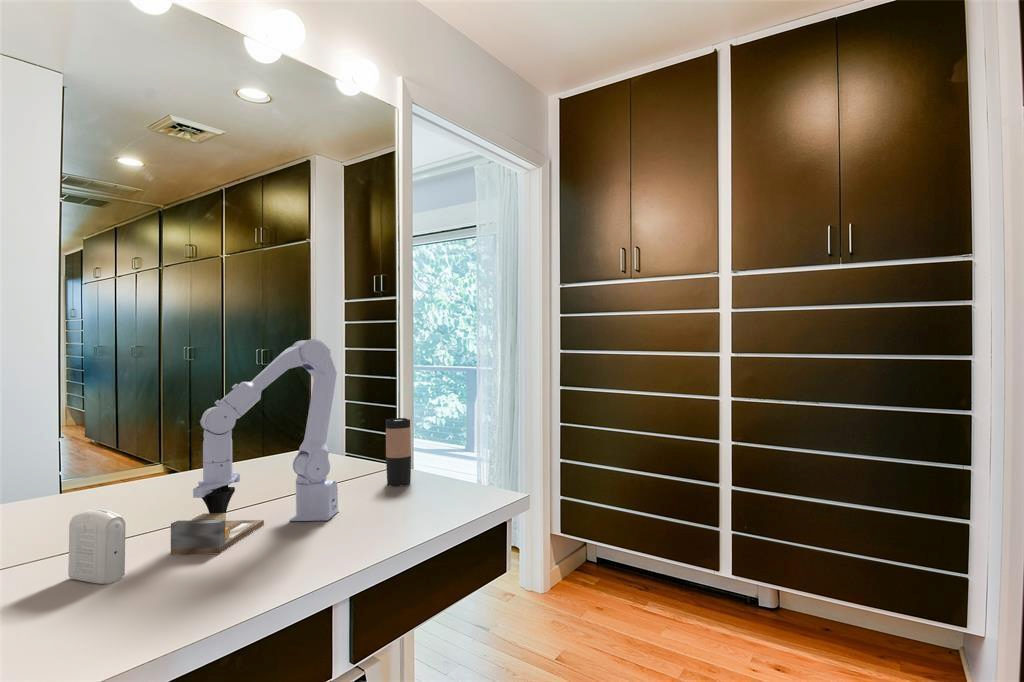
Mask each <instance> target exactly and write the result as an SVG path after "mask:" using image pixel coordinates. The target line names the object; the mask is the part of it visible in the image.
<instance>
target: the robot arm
mask: <svg viewBox="0 0 1024 682" xmlns="http://www.w3.org/2000/svg"><path fill="white" fill-rule="evenodd" d="M331 354H332V353H331V349H330V348H329V347H328V346H327V345H326V344H325V342H323V341H322V340H321V339H317V338H312V339H307V340H303V339H302V340H298V341H295V343H293V344H292V345H291V346H289V347H288V348H285V349H284V351H282V352H281V353H280V354H279V355H278V356H277V357H275V358H274V359H273V360H272V361H271V362H270V363H269V364H268V365H267V366H266V367H265V368H264V369H263V370H261V371H260V373H258V374H257V375H256V376H255V377H254V378H253V379H252V380H250V381H241V382H240V383H239V384H238V383H235V384H233V386H231V388H232V390H231V391H230V392H228V393H227V394H226V395H225V396H224V397H222V398H221V399H220V400H219V399H217V400H216V401H214V405H216V406H213V407H212V406H211V407H210V408H207V409H206V410H205V411H204V412H203V414H202V416H201V419H200V420H199V423H200V426H201V427H202V429H203V441H202V480H199V481H198V482H197V483H198V484H197V486H196V487H194V488H193V489H192V498H193V499H196V498H197V499H198V498H199V499H200V498H201V500H203V502H204V504H205V506H206V507H207V511H208V513H226V514H227V511H228V507H229V504H230V501H231V499H232V497H233V495H234V494H235V492H236V487H235V486H229V485H233V484H234V483H240V481H241V477H240V476H241V473H238V472H235V473H233V439H232V435H233V431H232V429H234V427H235V426H236V422H237V420H238V419H240V418H241V417H243V416H244V415H245V414H246V413H247V412H248V411H249V410H250V409H251V408H253V406H255V404H256V403H258V402H259V401H260V400H261V399H262V398H261V397H262V391H263V390H265V389H266V388H268V386H269V385H271V384H272V383H273V382H274V381H276V380H277V379H278V378H279V377H280V376H282V375H283V374H284V373H285V372H287V371H288V370H289V369H294V368H297V367H298V368H299V367H301V368H304V369H305V370H306V372H308V373H309V374H310V375H311V377H312V378H313V384H312V390H311V395H310V396H311V397H310V401H309V402H310V403H309V407H308V412H307V413H308V415H307V419H306V427H305V433H304V436H303V438H304V439H303V441H302V443H301V444H300V446H299V448H298V449H299V450H298V452H297V455H296V456H295V457H294V459H293V461H292V470H293V471H294V473H295V474H296V475H297V477H296V479H295V515H293V516H292V517H290V518H289V519H288V521H289V522H307V521H309V522H310V521H311V522H315V521H316V522H317V521H328V520H330V519H331V518H333V516H335V515H337V513H338V512H340V510H339V507H338V506H339V504H338V503H339V502H338V498H339V497H338V494H339V493H338V490H339V489H338V483H337V481H336V480H330V479H327V478H328V475H329V474H330V469H331V463H330V459H329V452H330V451H329V448H328V444H327V438H328V432H329V431H328V430H329V424H330V420H331V412H332V406H333V399H334V394H335V387H336V382H337V370H336V366H335V364H334V361H333V359H332V358H333V357H332V356H331Z"/></svg>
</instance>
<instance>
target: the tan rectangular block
mask: <svg viewBox="0 0 1024 682" xmlns="http://www.w3.org/2000/svg"><path fill="white" fill-rule="evenodd" d="M191 520H225V528H226V521H227V512H226V513H209V512H208V513H202V514H199V515H197V516H195V517H194V518H191ZM229 533H230V528H229Z"/></svg>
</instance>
